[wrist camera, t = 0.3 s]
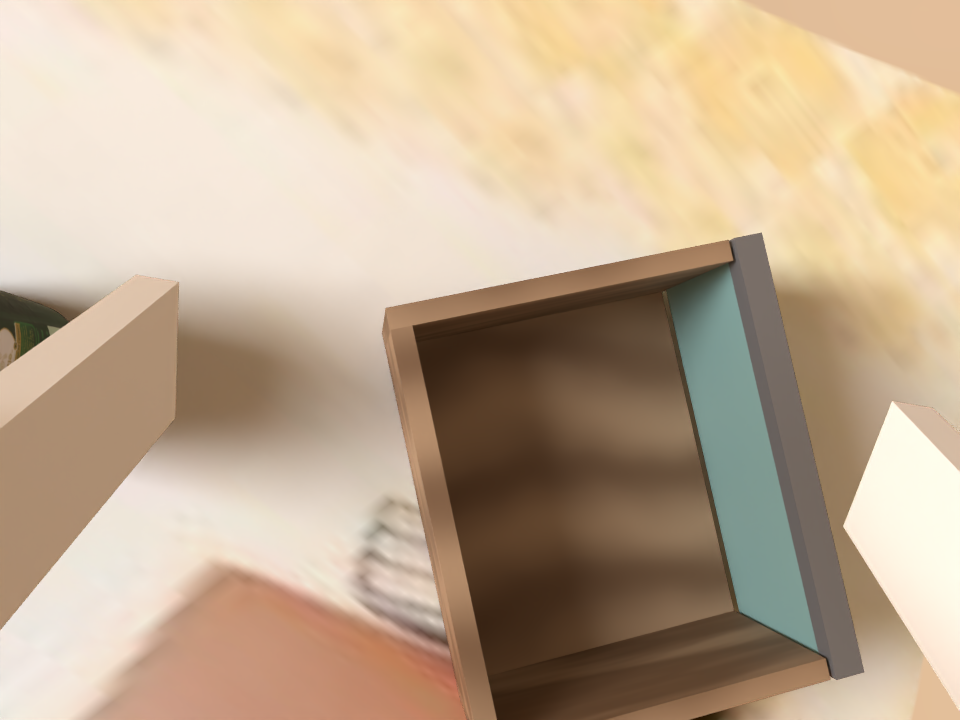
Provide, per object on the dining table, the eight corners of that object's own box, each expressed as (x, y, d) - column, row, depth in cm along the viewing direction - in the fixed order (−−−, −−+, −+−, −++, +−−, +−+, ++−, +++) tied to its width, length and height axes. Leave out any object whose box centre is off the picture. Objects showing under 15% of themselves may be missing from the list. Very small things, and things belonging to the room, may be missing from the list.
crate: (730, 623, 50) (830, 679, 39) (459, 696, 48) (485, 777, 37) (652, 278, 51) (728, 239, 40) (382, 333, 49) (385, 308, 38)
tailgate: (763, 620, 49) (864, 672, 39) (741, 626, 49) (836, 680, 39) (683, 270, 50) (761, 232, 40) (660, 274, 50) (734, 238, 40)
